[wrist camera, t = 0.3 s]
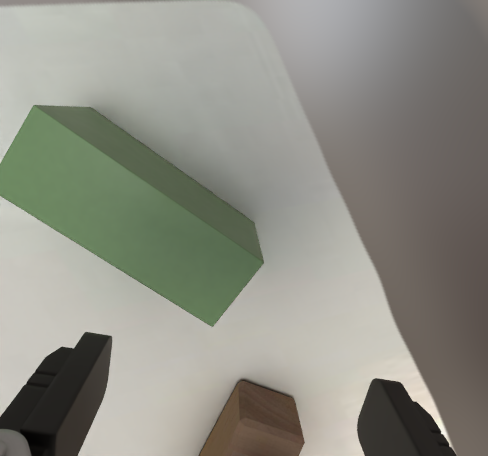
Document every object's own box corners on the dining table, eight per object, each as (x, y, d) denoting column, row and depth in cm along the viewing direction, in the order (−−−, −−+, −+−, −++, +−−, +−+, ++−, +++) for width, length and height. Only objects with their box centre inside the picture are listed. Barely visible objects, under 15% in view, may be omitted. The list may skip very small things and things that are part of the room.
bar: (90, 106, 26) (33, 104, 18) (254, 222, 29) (264, 262, 21) (54, 166, 27) (-15, 187, 19) (216, 272, 30) (212, 327, 22)
